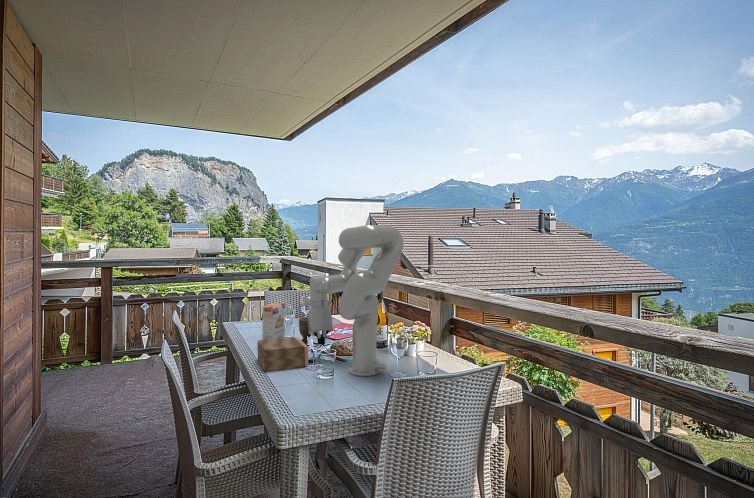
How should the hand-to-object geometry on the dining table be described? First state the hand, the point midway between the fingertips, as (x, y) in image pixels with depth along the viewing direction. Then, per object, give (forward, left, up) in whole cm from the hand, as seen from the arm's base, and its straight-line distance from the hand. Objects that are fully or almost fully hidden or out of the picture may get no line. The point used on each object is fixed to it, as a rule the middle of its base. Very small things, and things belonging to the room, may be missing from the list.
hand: (321, 346), depth 187 cm
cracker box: (+32, -16, -7) cm, 36 cm away
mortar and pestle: (+17, -26, -6) cm, 31 cm away
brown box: (+15, +10, -6) cm, 19 cm away
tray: (+13, +9, -6) cm, 17 cm away
